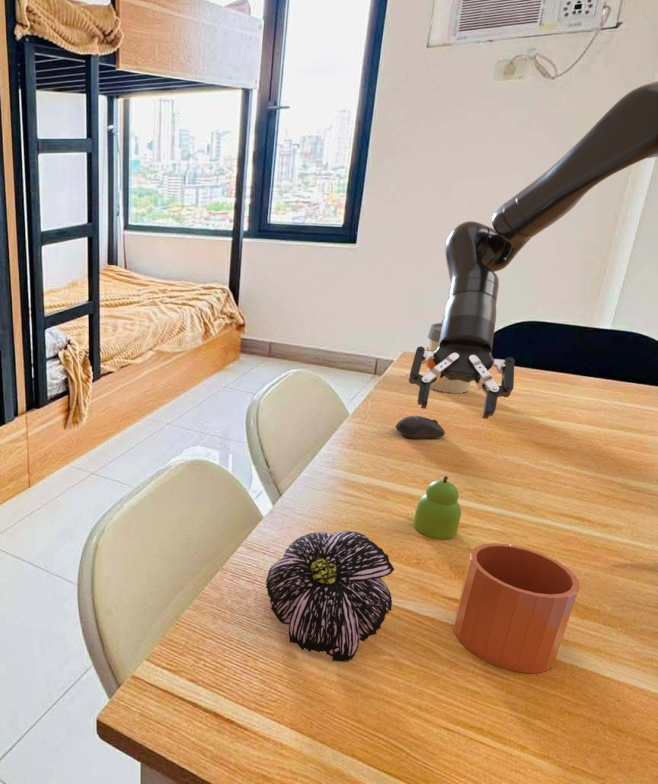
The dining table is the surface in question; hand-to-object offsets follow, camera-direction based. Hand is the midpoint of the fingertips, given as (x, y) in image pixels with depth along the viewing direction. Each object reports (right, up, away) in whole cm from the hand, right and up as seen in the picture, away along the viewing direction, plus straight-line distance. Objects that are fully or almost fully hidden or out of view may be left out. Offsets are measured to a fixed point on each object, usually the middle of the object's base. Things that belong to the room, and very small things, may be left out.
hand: (454, 411), depth 99 cm
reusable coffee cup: (+33, +4, +57) cm, 66 cm away
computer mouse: (+11, -6, +30) cm, 32 cm away
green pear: (-5, -18, -4) cm, 19 cm away
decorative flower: (-30, -25, -23) cm, 45 cm away
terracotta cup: (-10, -26, -26) cm, 38 cm away
